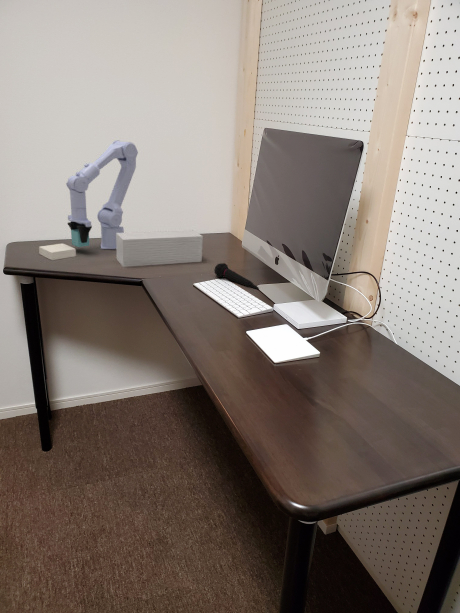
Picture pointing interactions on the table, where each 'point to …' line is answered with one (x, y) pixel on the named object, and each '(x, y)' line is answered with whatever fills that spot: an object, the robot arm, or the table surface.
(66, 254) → the cream plinth
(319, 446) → the table surface
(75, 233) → the teal block
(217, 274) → the microphone
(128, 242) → the stack of papers
